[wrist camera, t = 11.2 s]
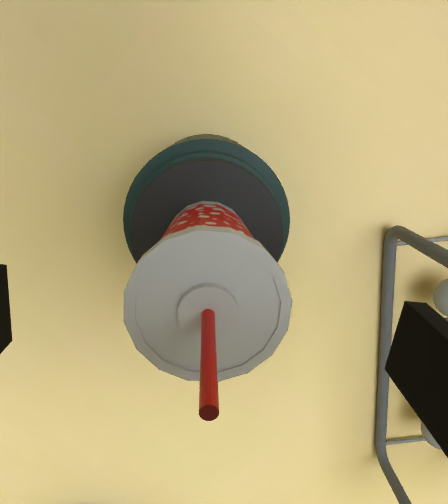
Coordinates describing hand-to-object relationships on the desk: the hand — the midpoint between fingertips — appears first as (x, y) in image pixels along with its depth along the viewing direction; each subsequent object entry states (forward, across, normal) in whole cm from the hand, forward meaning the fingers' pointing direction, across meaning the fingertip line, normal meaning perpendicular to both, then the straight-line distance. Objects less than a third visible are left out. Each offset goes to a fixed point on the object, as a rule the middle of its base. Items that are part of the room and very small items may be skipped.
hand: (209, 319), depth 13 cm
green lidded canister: (+24, 0, 0) cm, 24 cm away
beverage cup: (+10, 0, 0) cm, 10 cm away
